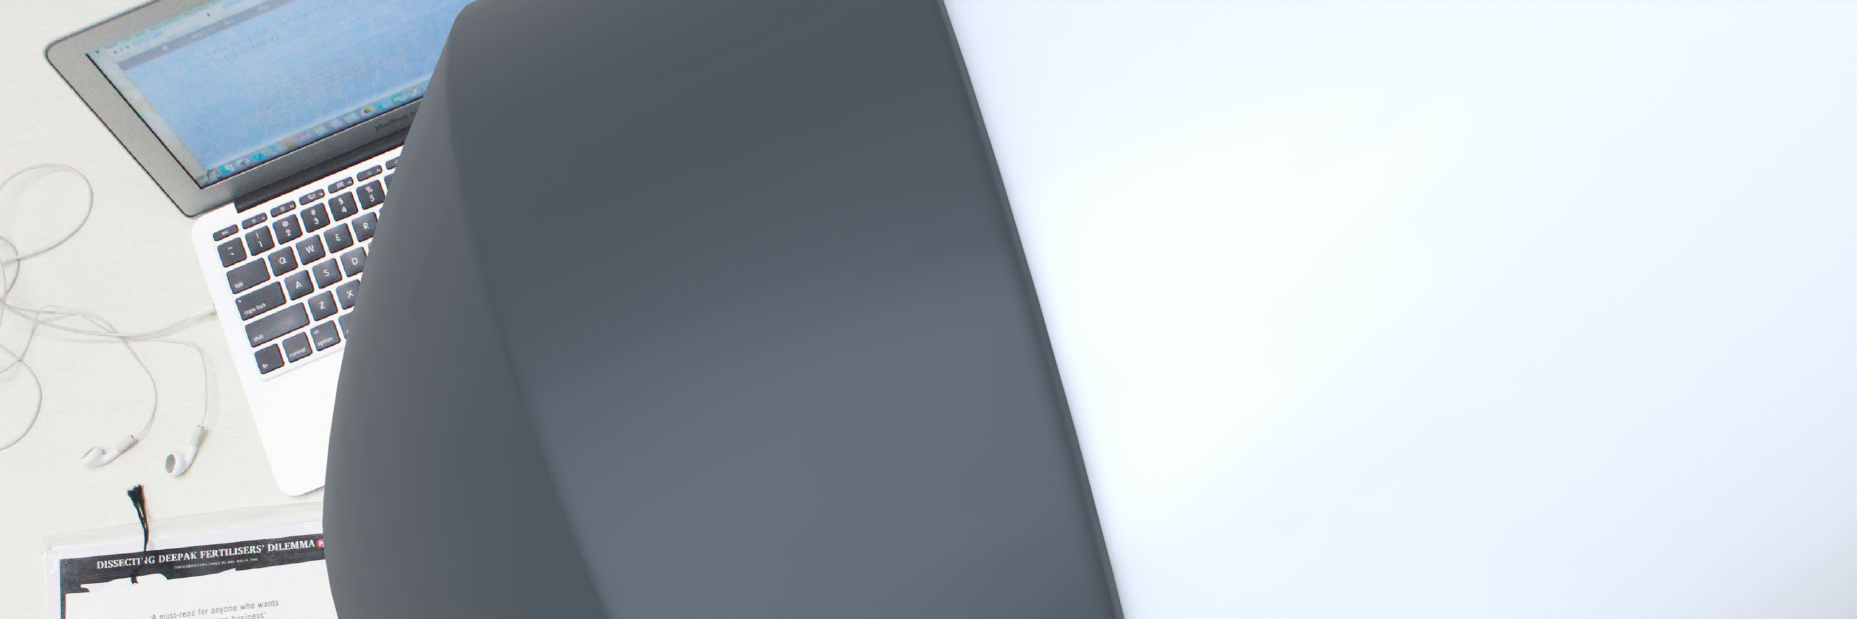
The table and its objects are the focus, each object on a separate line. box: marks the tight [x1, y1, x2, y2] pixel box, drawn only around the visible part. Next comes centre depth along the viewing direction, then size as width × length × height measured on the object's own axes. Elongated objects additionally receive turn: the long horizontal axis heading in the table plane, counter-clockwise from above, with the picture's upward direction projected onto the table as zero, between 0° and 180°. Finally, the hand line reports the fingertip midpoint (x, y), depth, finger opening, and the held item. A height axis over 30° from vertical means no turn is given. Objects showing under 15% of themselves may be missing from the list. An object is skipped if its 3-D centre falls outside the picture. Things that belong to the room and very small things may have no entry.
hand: (1036, 124), depth 33 cm, fingers open, 8 cm apart
